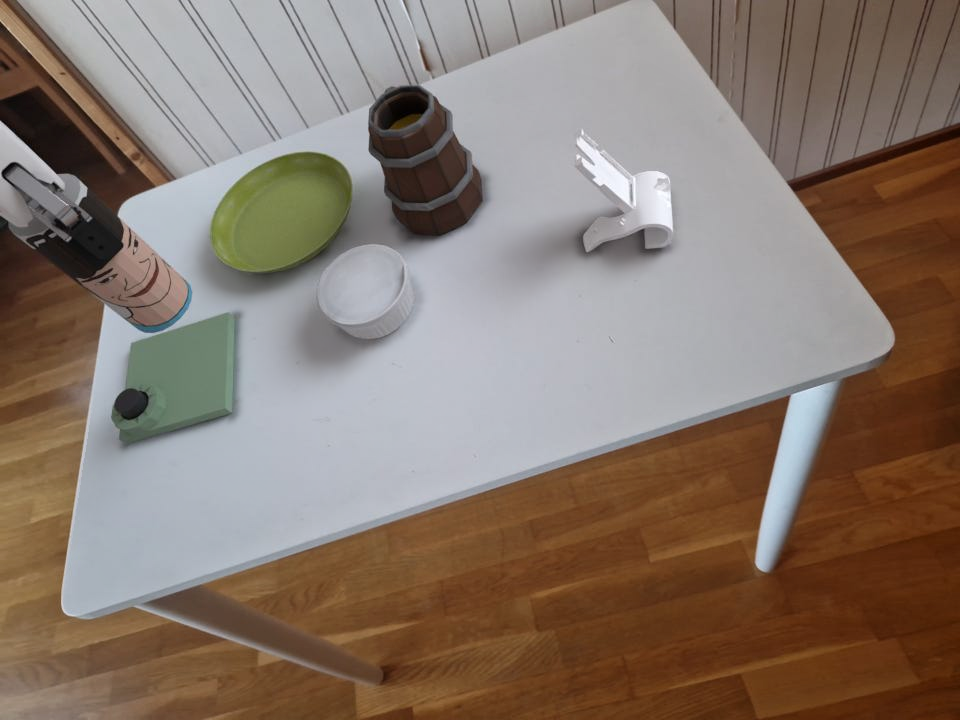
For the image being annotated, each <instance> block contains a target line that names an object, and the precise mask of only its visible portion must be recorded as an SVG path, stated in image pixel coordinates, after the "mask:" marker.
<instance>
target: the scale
mask: <svg viewBox="0 0 960 720" xmlns="http://www.w3.org/2000/svg"><path fill="white" fill-rule="evenodd" d="M235 328H236V318H235V316H234V315H233V314H231V312H224V313H222V314H218V315H215V316H212V317H209V318H206V319H203V320H200V321H199V320H198V321H195V322H193V323H190V324H187V325H184V326H180V327H177V328H174V329H171V330H168V331H165V332H162V333H161V332H160V333H158V334H155V335H152V336H148V337H145V338H142V339H138V340H136V341H132V342H130V348H129V357H128V365H127V373H126V380H125V389H124V390H126V389H129V388H134V389H136V390H138V391H139V392H141V393H142V394H144V395H145V396H146V397H147V398H148V406H147V408H146V409H145V411H144V412H143V413H142V414H141V415H140V416H139V417H137V418H134V419H130V418H127V417H125V416H123V415H122V414H120V413H118V412H117V411H116V410H115V408H114V404H113V405H112V407H111V414H110V415H111V416H110V419H111V421H112V422H113V424H114V426H115V428H117V429H118V430H119V435H118V440H119V441H120V442H122V443H125V444H126V445H128V444H131V443H136V442H139V441H143V440H145V439H148V438H149V439H150V438H153V437H156V436H159V435H163V434H167V433H169V432H172V431H176V430H179V429H182V428H187V427H190V426H193V425H196V424H201V423H203V422H207V421H211V420H214V419H217V418H221V417H224V416H227V415H230V414H233V399H234V395H233V394H234V367H235V366H234V363H235V361H234V359H235V330H236V329H235Z"/></svg>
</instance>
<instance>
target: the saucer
mask: <svg viewBox="0 0 960 720" xmlns="http://www.w3.org/2000/svg"><path fill="white" fill-rule="evenodd" d="M352 179H353V178H352V177H351V174H350V172H349V170H348V169H347V167H346V166H345V164H343V163H342V162H341V160H339V159H337V158H335V157H334V156H332V155H330V154H327V153H323V152H319V151H318V152H317V151H296V152H291V153H286V154H281V155H279V156H276V157H274V158H272V159H271V158H270V159H269V160H267V161H265V162H262V163H261V164H259V165H258V166H256V167H254V168H253V169H251V170H250V171H248V172H247V173H245V174H244V175H243V176H242V177H240V178H239V179H238V180H237V181H236V182H235V183H234V184H233V185H232V186H231V187H230V188H229V189H228V190H227V191H226V192H225V194H224V195H223V197H222V198H221V200H220V201H219V203H218V204H217V206H216V208H215V210H214V213H213V215H212V218H211V222H210V225H209V240H210V241H209V242H210V245H211V248H212V251H213V253H214V254H215V256H216V257H217V258H218V259H219V261H221V262H222V263H223V264H224V265H226V266H228V267H229V268H232V269H234V270H238V271H241V272H246V273H252V274H267V273H268V274H269V273H270V274H271V273H276V272H281V271H285V270H289V269H292V268H295V267H297V266H299V265H302V264H304V263H306V262H308V261H309V260H311V259H313V258H314V257H316V256H317V255H318V254H319V253H321V252H322V251H324V249H326V248H327V247H328V246H329V245H330V244H331V243H332V242H333V241H334V239H335V238H336V237H337V236H338V234H339V233H340V231H341V230H342V228H343V227H344V225H345V223H346V221H347V218H348V216H349V213H350V210H351V207H352V203H353V194H354V193H353V192H354V186H353V185H354V184H353V180H352Z"/></svg>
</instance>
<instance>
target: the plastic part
mask: <svg viewBox="0 0 960 720" xmlns="http://www.w3.org/2000/svg"><path fill="white" fill-rule="evenodd" d="M574 146H575V147H576V148H577V150H578V151H579V152H580V153H581V154H582V155H583V156H584V157H583V156H581V155H580V154H575V155H574V156H573V157H574V158H573V159H574V168H576V169H577V171H579V173H580V174H582V175H583V176H584V177H585V179H587V180H588V181H589V182H590V183H591V185H593V186H594V187H595V188H596V189H597V190H599V191H600V193H602V194H603V196H605V197H606V198H607V199H608V200H609V201H610V202H611V203H612V204H613V205H615V206H616V207H617V208H618V209H619V210H620V211H621V212H622V214H620V215H617V216H613V217H612V216H611V217H607V216H602V215H601V216H599V217H597V218H596V219H595V220H594V221H593V222H592V224H591V225H590V226H589V228H588V229H587V230H586V231H585V232H584V234H583V236H582V241H583V246H584V250H585V252H586V253H589V252H591V251H593V250H594V249H596V248H597V247H598V246H600V245H601V244H603V243H605V242H610V241H614V240H618V239H622V238H625V237H628V236H630V235H632V234H635V233H637V232H639V231H641V230H643V232H644V249H646V250H647V249H648V250H649V249H651V250H652V249H662V248H665V247H666V246H668V245H670V244H671V243H672V242H673V240H674V239H673V238H674V222H673V208H672V206H673V205H672V191H671V180H670V177H669V176H668V175H667V174H666V173H664V172H661V171H658V170H647V171H641V172H639V173H637V174H634V175H632V174H631V173H630V172H628V171H627V169H625V168H624V167H623V166H622V165H621V164H619V163H618V161H616V160H615V159H614V157H612V156H611V155H610V154H609V153H608V152H607V151H605V150H604V149H601V150H600V151H599V150H598V149H597V147H599V144H597V142H596V141H594V140H593V139H592V138H591V137H589V135H587V134H586V133H585V132H584V129H583V128H580V129H579V130H578V131H577V132H575V133H574ZM585 158H586V159H585Z"/></svg>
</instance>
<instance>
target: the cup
mask: <svg viewBox="0 0 960 720" xmlns="http://www.w3.org/2000/svg"><path fill="white" fill-rule="evenodd" d="M57 175H58V176H59V177H60V178H61V179H62V181H63V182H64V183H65V192H62V193H63V194H65V195H66V196H67V197H68V198H69V199H71V200H72V201H73V202H74V203H75V204H77V205H78V206H79V207H80V208H81V209H83V210H84V211H85V212H86V213H90V214H92V215H93V216H94V217H95V218H96V219H97V220H98V221H99V222H100V223H102V224H103V225H104V226H105V227H106V228H107V229H108V230H109V231H110V232H112V233H113V234H114V235H115V236H116V237H117V238H118V239H119V240H120V241H122V242H123V244H124V247H123V248H122V249H121V250H120V251H119V252H118V253H117V254H116V255H115V256H114V257H113V258H112V259H111V260H110V261H109V262H108V263H107V265H106V266H105V267H104V268H103V269H101V270H99V271H97V270H95V269H94V268H92V267H91V266H90V265H89V264H87V263H86V262H85V261H84V260H82V259H81V258H80V257H79V256H77V255H76V254H75V253H74V252H72V251H71V250H70V249H69V248H68V247H66V246H65V245H64V244H63V243H61V242H60V240H61V239H62V238H61V237H59V236H58V235H57V234H56V233H54V232H53V231H52V230H51V229H49V228H48V227H47V226H45V225H44V224H43V223H42V222H40V221H39V220H38V219H37V218H35V217H33V219H32V220H31V221H30V222H29V223H28V225H29V226H27V227H17V226H15V225H13V224H12V223H10V222H9V221H8V220H7V221H8V229H9V231H10V232H11V234H13V235H14V236H16V237H17V238H18V239H20V241H22V242H23V243H24V244H26V245H27V246H28V247H29V248H31V249H32V250H34V251H35V252H36V253H38V254H39V255H40V256H41V257H42V258H44V259H45V260H47V261H48V262H49V263H50V264H52V265H53V266H55V267H56V268H57V269H59V270H60V272H62V273H64V274H65V275H66V276H68V277H69V278H70V279H71V280H72V281H74V282H75V283H77V284H78V285H79V286H80V287H82V288H83V289H84V290H86V291H87V292H88V293H89V294H91V295H92V296H94V297H95V298H96V299H98V300H99V301H100V302H102V303H103V304H104V305H105V306H107V307H108V308H109V309H110V310H112V311H113V312H115V314H117V315H118V316H120V318H122V319H124V320H125V321H126V322H127V323H129V324H130V325H131V326H132V327H134V328H135V329H137V330H138V331H140V332H141V333H145V334H155V333H159V332H163V331H165V330H167V329H169V328H170V327H172V326H174V325H175V324H176V323H177V322H178V321H179V320H180V319H182V317H183V316H184V315H185V314H186V312H187V311H188V310H189V307H190V305H191V303H192V298H193V289H192V286H191V284H190V283H189V281H187V280H186V279H185V278H184V277H183V276H182V275H181V274H180V273H179V272H178V271H177V270H176V269H174V268H173V266H171V265H170V264H169V263H168V262H167V261H166V260H165V259H164V258H163V257H161V255H160V254H159V253H158V252H156V250H154V249H153V248H152V247H151V246H150V245H149V244H148V243H147V242H146V241H145V240H144V239H142V237H140V236H139V235H138V234H137V232H135V231H134V230H133V228H131V227H130V226H128V224H127V223H126V222H124V221H123V219H121V217H119V216H118V215H117V214H116V213H115V212H114V211H113V210H112V209H111V208H110V207H108V205H106V204H105V203H104V201H102V200H101V199H100V198H99V197H98V196H97V195H96V194H95V193H94V192H93V191H91V189H90V188H89V187H88V186H86V184H84V183H83V182H82V181H81V180H80V179H79V178H78V177H77V176H76V175H74V174H71V173H58V174H57ZM45 187H46V186H45ZM46 188H47V187H46ZM47 189H48V188H47ZM48 190H49V189H48ZM50 191H51V190H50ZM51 192H52V191H51ZM28 205H29V206H30V207H31V208H33V209H35V208H36V207H38V206H39V204H38V203H36V202H35V201H34V200H33V199H32V200H31V201H30V202H29V203H28ZM43 215H45V216H46V217H47V218H48V219H50V220H51V221H52V222H53V223H55V222H54V221H53V220H54V219H56V218H55V217H54V216H53V215H51V214H50V213H49V212H48V211H46V212H45V213H44V214H43ZM55 224H56V223H55Z"/></svg>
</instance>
